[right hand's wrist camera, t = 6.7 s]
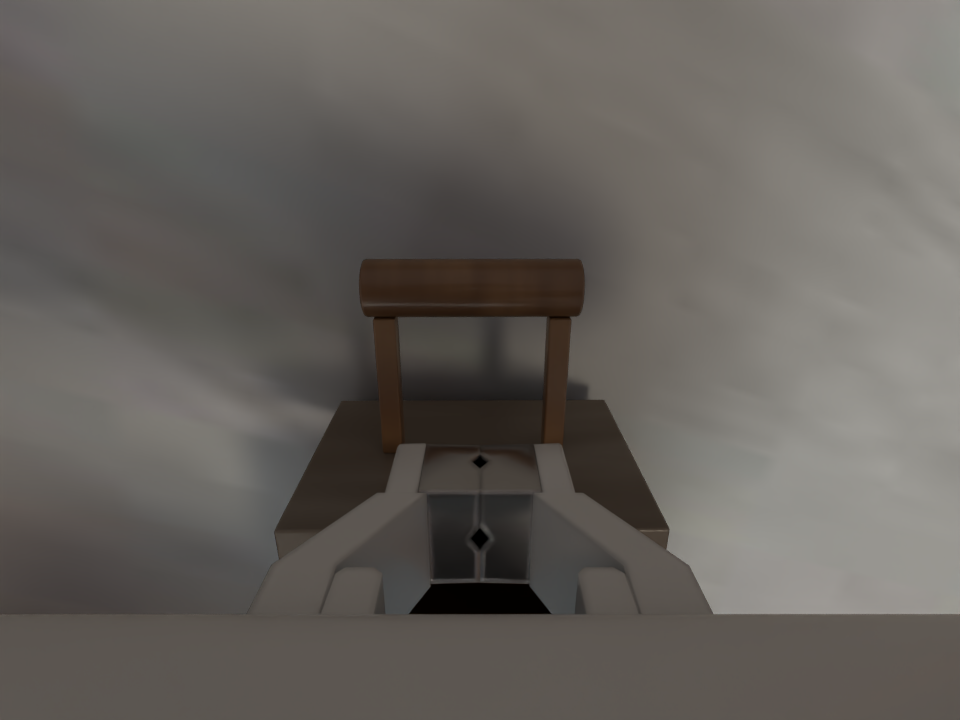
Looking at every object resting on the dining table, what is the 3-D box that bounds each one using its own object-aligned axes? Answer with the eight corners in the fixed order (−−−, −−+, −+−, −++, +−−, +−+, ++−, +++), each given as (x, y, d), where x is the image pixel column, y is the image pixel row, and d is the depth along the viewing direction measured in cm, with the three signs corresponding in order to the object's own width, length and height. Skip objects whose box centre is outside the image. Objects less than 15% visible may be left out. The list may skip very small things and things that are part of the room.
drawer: (323, 238, 17) (231, 297, 11) (620, 238, 17) (709, 296, 11) (366, 641, 24) (325, 831, 17) (581, 639, 24) (622, 828, 17)
